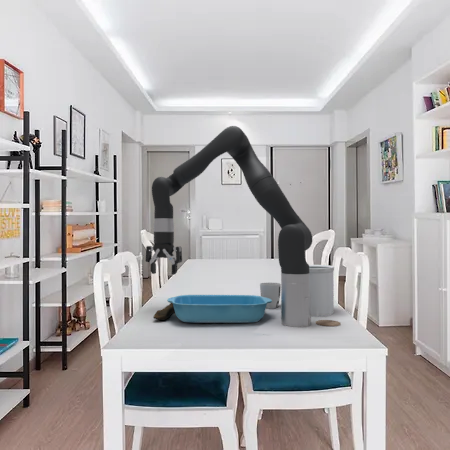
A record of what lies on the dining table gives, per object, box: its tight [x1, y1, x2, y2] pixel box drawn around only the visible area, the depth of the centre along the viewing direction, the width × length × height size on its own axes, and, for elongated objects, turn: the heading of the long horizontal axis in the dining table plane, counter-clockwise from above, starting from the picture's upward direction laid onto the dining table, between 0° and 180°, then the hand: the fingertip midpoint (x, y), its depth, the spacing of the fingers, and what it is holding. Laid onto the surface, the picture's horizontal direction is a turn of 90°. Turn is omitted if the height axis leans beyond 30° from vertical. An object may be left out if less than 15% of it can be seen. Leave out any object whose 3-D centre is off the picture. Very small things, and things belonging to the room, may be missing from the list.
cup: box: [259, 282, 281, 309], centre depth 164 cm, size 8×8×10 cm
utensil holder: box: [308, 264, 335, 317], centre depth 156 cm, size 15×15×18 cm
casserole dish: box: [167, 294, 272, 324], centre depth 149 cm, size 37×22×7 cm, turn 92°
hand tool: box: [152, 303, 175, 321], centre depth 153 cm, size 19×4×5 cm
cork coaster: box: [315, 319, 341, 327], centre depth 139 cm, size 8×8×1 cm
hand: (163, 274), depth 158 cm, fingers open, 8 cm apart
